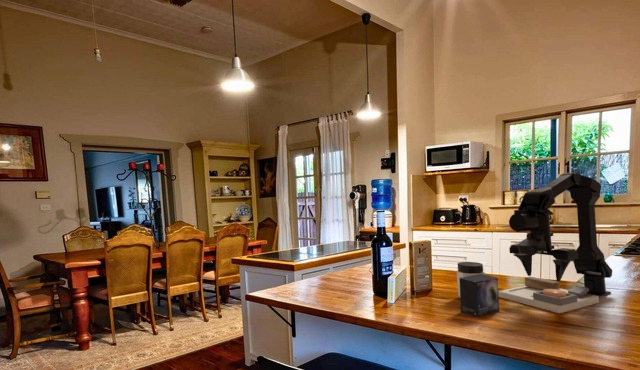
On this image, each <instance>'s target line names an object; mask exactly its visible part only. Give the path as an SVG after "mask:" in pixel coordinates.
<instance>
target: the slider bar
mask: <svg viewBox="0 0 640 370" xmlns="http://www.w3.org/2000/svg"><path fill="white" fill-rule="evenodd" d="M524 283H525V284H524V286H528V287H532V288H537V289H541V290H544V289H557V290H560V289H561V288H560V281H559V282H558V281H557V280H556V281H555V280H551V279H545V278H539V277H534V276H527V277H524ZM559 288H560V289H559Z"/></svg>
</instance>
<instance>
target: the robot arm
mask: <svg viewBox="0 0 640 370" xmlns="http://www.w3.org/2000/svg"><path fill="white" fill-rule="evenodd" d="M601 185H602V184H601V183H600V182H599V181H597V180H596V179H594V178H593V177H589V176H585V175H581V174H580V173H579V172H565V173H561V174H559V176H558V177H557V178H555V179H554V180H552V181H551V182H549V183H547V184H546V185H544V186H543V187H540V188H536V189H531V190H528V191H526V192H524V194H523V197H522V199H521V202H520V204H519V206H518V208H517V209H514V210H513V212H514V213H513V214H511V216H510V217H509V220H508V224H509V227H510V228H511V230H513V231H514V232H517V233H518V232H526V238H525V239H523V240H521V241H519V242H518V243H516V244H510V246H509V249H508V251H509V254H512V255H513V256H514V257H515V258H516V257H517V258H516V259H518V260H520V262H521V265H522V266H523V269H524V271H525V273H526V275H527V277H532V271H533V270H532V269H533V256H534V255H538V254H539V255H543V256H544V255H545V256H552V257H553V258H554V259H552V262H553V264H554V266H555V267H554V268H555V279H556V282H559V283H560V282H561V280H562V278H563V276H564V274H565V271H566V269H567V268H568V267H569V265H570V263H571V262H573V266H574V269H575V272H576V274H578V275H583V284H584V285H583V287H586V288H589V291H588V292H587V293H586V294H590V295H594V296H598V297H599V296H600V297H601V296H607V295H610V294H612V291H608V290H607V288H606V279H607V278H609V279H611V278H612V276H613V269H612V268H611V266H609V264H608V263H607V261H606V259H605V255H604V253H603V251H602V250H601V249H600V247H599V246H598V235H597V234H598V233H597V221H596V206H595V205H596V203H597V201H599V199H600V197H601V189H602V186H601ZM565 191H568V193H569V194H570V195H569V196H570V198H571V199H572V200H573V202H574V204H575V205H576V213H577V215H576V216H577V226H578V227H577V229H578V247H577V248H564V247H562V248H556V249H555V245H554V244H552V237H554V232H551V223H550V221H551V220H550V216H553V215H554V213H553V212H552V211H551V210H550V208H551V207H552V206H553V205H554V204H555V203H556V198H557V197H559V196H560V195H561V194H562V193H564V192H565Z"/></svg>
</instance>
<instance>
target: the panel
mask: <svg viewBox="0 0 640 370" xmlns="http://www.w3.org/2000/svg"><path fill="white" fill-rule="evenodd" d="M559 289H560V290H562V291H565V292H566V296H565V297H561V298H557V297H553V296H548V295H544V294H543V290H541V289H537V288H532V287H528V286H525V285H523V286H517V287H512V288H508V289H503V290H498V291H499V298H502V299H504V300H509V301H512V302H517V303H520V304H524V305H528V306H530V307H535V308H538V309H542V310H545V309H546V310H547V311H549V310H550V311H549V312H553V313H557V314H562V313H566V312H569V311H574V310H577V309H581V308H585V307H589V306H591V305H595V304H599V303H600V300H599V299H600V298H599V295H594V294H589V293H585V294H583V295H582V296H577V295H575V294H570V293H568V290H569V289H564V288H560V287H559ZM546 310H545V311H546Z"/></svg>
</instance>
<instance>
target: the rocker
mask: <svg viewBox="0 0 640 370" xmlns="http://www.w3.org/2000/svg"><path fill="white" fill-rule="evenodd" d="M567 290H568V293H570V294H575V295H577V296H582V295H583V294H588V293H587V292H588V291H589V288H586V287H584V286H580V285H575V286H574V287H572V288H571V289H567Z"/></svg>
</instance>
